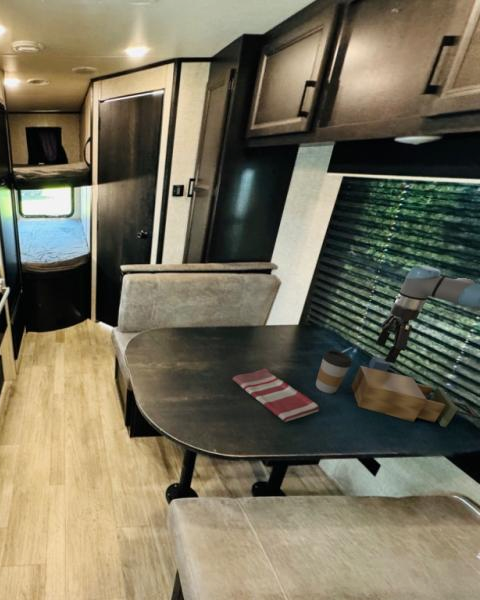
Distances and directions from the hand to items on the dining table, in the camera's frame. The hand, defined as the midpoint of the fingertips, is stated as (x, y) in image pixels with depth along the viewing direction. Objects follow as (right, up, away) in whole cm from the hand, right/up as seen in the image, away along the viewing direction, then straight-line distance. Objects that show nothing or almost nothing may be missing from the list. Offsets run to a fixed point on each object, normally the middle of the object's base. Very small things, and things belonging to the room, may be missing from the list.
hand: (384, 353), depth 127 cm
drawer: (-6, -17, -20) cm, 27 cm away
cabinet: (-16, -15, -14) cm, 26 cm away
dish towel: (-52, -14, -11) cm, 55 cm away
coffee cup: (-30, -12, -7) cm, 33 cm away
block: (0, -7, +3) cm, 8 cm away
